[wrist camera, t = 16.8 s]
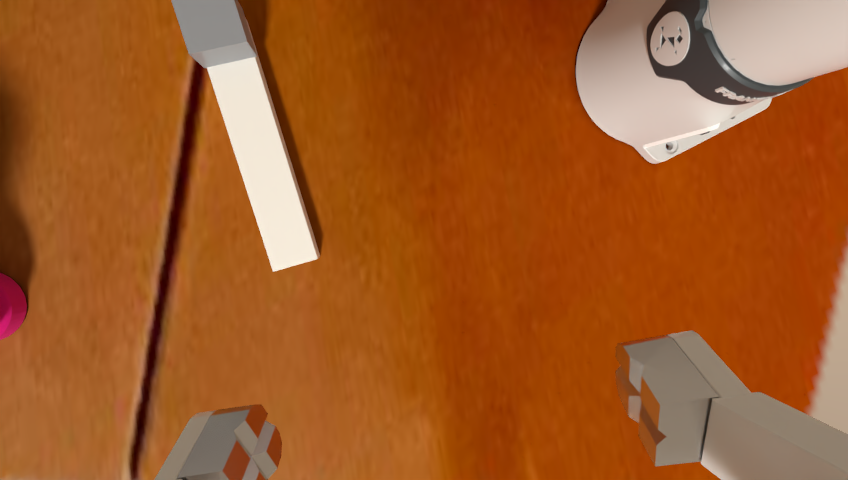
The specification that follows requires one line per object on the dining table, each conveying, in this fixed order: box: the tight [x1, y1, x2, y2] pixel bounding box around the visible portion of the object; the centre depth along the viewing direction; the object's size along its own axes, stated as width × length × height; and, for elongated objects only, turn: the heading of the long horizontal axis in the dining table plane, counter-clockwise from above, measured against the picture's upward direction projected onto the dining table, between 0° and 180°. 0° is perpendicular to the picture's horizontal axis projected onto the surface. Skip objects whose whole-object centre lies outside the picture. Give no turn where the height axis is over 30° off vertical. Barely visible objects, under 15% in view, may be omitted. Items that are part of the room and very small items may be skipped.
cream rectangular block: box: [172, 0, 320, 272], centre depth 34 cm, size 4×22×6 cm, turn 16°
